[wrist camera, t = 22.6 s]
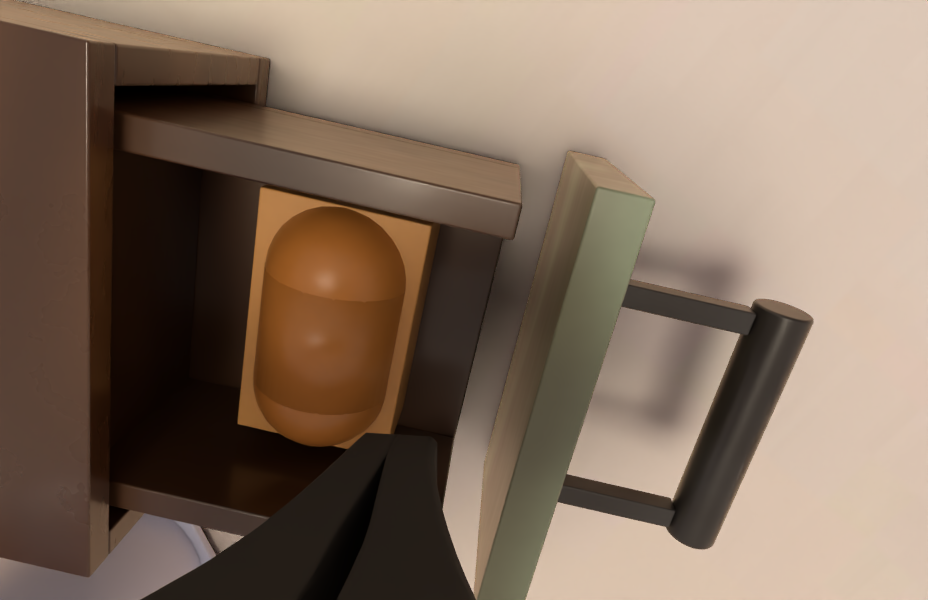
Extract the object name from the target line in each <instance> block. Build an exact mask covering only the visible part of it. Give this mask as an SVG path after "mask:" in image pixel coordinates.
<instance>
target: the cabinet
mask: <svg viewBox="0 0 928 600" xmlns="http://www.w3.org/2000/svg"><path fill="white" fill-rule="evenodd" d="M269 63H270V60H269V59H268V58H264V57H260V56H255V55H251V54H247V53H242V52H238V51H234V50H229V49H225V48H220V47H216V46H212V45H207V44H203V43H199V42H194V41H190V40H186V39H181V38H177V37H172V36H168V35H164V34H159V33H155V32H151V31H146V30H142V29H138V28H133V27H129V26H125V25H120V24H116V23H111V22H107V21H103V20H98V19H94V18H90V17H85V16H81V15H77V14H72V13H68V12H63V11H59V10H55V9H50V8H46V7H42V6H37V5H33V4H29V3H24V2H20V1H15V0H0V558H4V559H9V560H13V561H17V562H22V563H26V564H30V565H35V566H39V567H43V568H48V569H52V570H56V571H61V572H65V573H69V574H74V575H78V576H83V577H87V578H89V577H90V576H91V575H92V574H93V573H94V572H95V570H96V569H97V568H98V567H99V566H100V565H101V563H102V562H103V561H104V560H105V559H106V558H107V556H108V554H110V553H111V552H112V551H113V550H114V548H115V547H116V546H117V545H118V544H119V543H120V541H121V540H122V539H123V538H124V537H125V536H126V534H127V533H128V532H129V531H130V530H131V529H132V527H133V526H134V525H135V524H136V523H137V522H138V520H139V519H140V518H141V517H142V516H143V515H144V513H140V512H136V511H131V510H127V509H123V508H118V507H114V506H110V505H109V463H110V385H111V307H112V228H113V150H114V92H148V91H191V90H195V91H200V92H204V93H208V94H213V95H217V96H221V97H226V98H230V99H234V100H239V101H243V102H248V103H252V104H256V105H261V106H265V105H266V94H267V84H268V73H269Z"/></svg>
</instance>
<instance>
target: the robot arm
mask: <svg viewBox="0 0 928 600" xmlns="http://www.w3.org/2000/svg"><path fill="white" fill-rule="evenodd" d="M0 600H476V598H475V596H474V594H473V592H472V590H471V588H470V586H469V583H468V581H467V579H466V576H465V574H464V572H463V569H462V567H461V565H460V562H459V559H458V557H457V554H456V551H455V549H454V546H453V543H452V540H451V537H450V534H449V531H448V528H447V524H446V521H445V517H444V514H443V510H442V505H441V501H440V497H439V492H438V487H437V442H436V441H435V440H434V439H433V438H432V437H431V436H415V435H398V434H382V433H365V434H364V435H363V436H361V437H360V438H359V439H358V440H357V441H356V442H355V443H354V444H353V445H352V446H351V447H349V448H348V449H347V450H346V451H345V452H344V453H343V454H342V455H341V456H340V457H339V458H338V459H337V460H336V461H335V462H334V463H333V464H332V465H330V466H329V467H328V468H327V469H326V470H325V471H324V472H323V473H322V474H321V475H320V476H319V477H317V478H316V479H315V480H314V481H313V482H312V483H311V484H310V485H308V486H307V487H306V488H305V489H304V490H303V491H302V492H301V493H299V494H298V495H297V496H296V497H295V498H294V499H292V500H291V501H290V502H289V503H288V504H286V505H285V506H284V507H283V508H281V509H280V510H279V511H278V512H276V513H275V514H274V515H273V516H271V517H270V518H269V519H267V520H266V521H265V522H264V523H262V524H261V525H260V526H259V527H257V528H256V529H254V530H253V531H252V532H250V533H249V534H248V535H246V536H245V537H243V538H242V539H240V540H239V541H238V542H236V543H235V544H233V545H232V546H230V547H228V548H227V549H225V550H224V551H222V552H221V553H219V554H218V555H216V554H215V552H214V551H213V549H212V547H211V545H210V543H209V541H208V540H207V538H206V536H205V534H204V532H203V530H202V529H201V527H200V526H197V525H192V524H188V523H184V522H179V521H175V520H171V519H166V518H162V517H158V516H153V515H149V514H145V513H144V515H143V516H142V517H141V518H140V519H139V520H138V522H137V523H136V524H135V525H134V526H133V527H132V529H131V530H130V531H129V532H128V533H127V534H126V536H125V537H124V538H123V539H122V540H121V541H120V543H119V544H118V545H117V546H116V547H115V548H114V550H113V551H112V552H111V553H110V554H108V556H107V558H106V559H105V560H104V561H103V562H102V563H101V565H100V566H99V567H98V568H97V569H96V570H95V572H94V573H93V574H92V575H91V576H90V577H89V578H87V577H83V576H78V575H74V574H69V573H65V572H61V571H56V570H52V569H48V568H43V567H39V566H35V565H30V564H26V563H22V562H17V561H13V560H9V559H4V558H0Z"/></svg>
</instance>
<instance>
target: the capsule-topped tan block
mask: <svg viewBox="0 0 928 600" xmlns="http://www.w3.org/2000/svg"><path fill="white" fill-rule="evenodd" d="M440 225H441V224H438V223H434V222H429V221H425V220H421V219H416V218H412V217H408V216H403V215H399V214H395V213H390V212H386V211H382V210H377V209H373V208H368V207H364V206H360V205H355V204H351V203H347V202H342V201H338V200H334V199H329V198H325V197H320V196H316V195H312V194H307V193H303V192H299V191H294V190H290V189H286V188H281V187H277V186H273V185H268V184H267V185H264V186H262V187H261V188H260V196H259V206H258V217H257V227H256V237H255V247H254V258H253V268H252V278H251V288H250V299H249V309H248V319H247V330H246V340H245V350H244V360H243V371H242V381H241V391H240V401H239V412H238V422H237V423H238V424H240V425H244V426H249V427H253V428H257V429H262V430H266V431H270V432H275V433H279V434H281V435H283V436H284V437H286V438H288V439H290V440H292V441H295V442H297V443H300V444H303V445H308V446H316V447H323V446H336V447H340V448H344V449H348V448H349V447H351V446H352V445H353V444H354V443H355V442H356V441H357V440H358V439H359V438H360V437H361V436H363V435H364V434H365V433H382V434H394V432H395V429H396V426H397V423H398V420H399V417H400V414H401V411H402V408H403V405H404V400H405V395H406V390H407V386H408V381H409V376H410V371H411V366H412V361H413V356H414V352H415V347H416V342H417V337H418V332H419V327H420V322H421V317H422V313H423V308H424V303H425V298H426V293H427V288H428V283H429V278H430V274H431V269H432V264H433V259H434V254H435V249H436V244H437V239H438V235H439V230H440Z"/></svg>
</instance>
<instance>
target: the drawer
mask: <svg viewBox="0 0 928 600" xmlns="http://www.w3.org/2000/svg"><path fill="white" fill-rule="evenodd" d="M267 184H268V185H273V186H277V187H281V188H286V189H290V190H294V191H299V192H303V193H307V194H312V195H316V196H320V197H325V198H329V199H334V200H338V201H342V202H347V203H351V204H355V205H360V206H364V207H368V208H373V209H377V210H382V211H386V212H390V213H395V214H399V215H403V216H408V217H412V218H416V219H421V220H425V221H429V222H434V223H438V224H441V225H440V230H439V235H438V239H437V244H436V249H435V254H434V259H433V264H432V269H431V274H430V278H429V283H428V288H427V293H426V298H425V303H424V308H423V313H422V317H421V322H420V327H419V332H418V337H417V342H416V347H415V352H414V356H413V361H412V366H411V371H410V376H409V381H408V386H407V390H406V395H405V400H404V405H403V408H402V411H401V414H400V417H399V420H398V423H397V426H396V429H395V432H394V434H398V435H415V436H431V437H432V438H433V439H434V440H435V441H436V442H437V487H438V492H439V497H440V501H441V505H442V509H443V503H444V497H445V491H446V485H447V479H448V473H449V467H450V461H451V455H452V449H453V443H454V438H455V434H456V429H457V425H458V421H459V417H460V413H461V409H462V405H463V401H464V397H465V393H466V388H467V384H468V380H469V376H470V372H471V368H472V364H473V360H474V356H475V352H476V348H477V343H478V339H479V335H480V331H481V327H482V323H483V319H484V315H485V311H486V307H487V302H488V298H489V294H490V290H491V286H492V282H493V278H494V274H495V270H496V266H497V261H498V257H499V253H500V249H501V245H502V241H503V238H504V239H508V240H513V239H514V237H515V233H516V229H517V225H518V221H519V217H520V213H521V209H522V196H521V181H520V166H519V165H518V164H514V163H509V162H505V161H500V160H496V159H492V158H487V157H483V156H479V155H474V154H470V153H466V152H461V151H457V150H452V149H448V148H444V147H439V146H435V145H431V144H426V143H422V142H418V141H413V140H409V139H405V138H400V137H396V136H391V135H387V134H383V133H378V132H374V131H370V130H365V129H361V128H357V127H352V126H348V125H343V124H339V123H335V122H330V121H326V120H322V119H317V118H313V117H309V116H304V115H300V114H295V113H291V112H287V111H282V110H278V109H274V108H269V107H265V106H261V105H256V104H252V103H248V102H243V101H239V100H234V99H230V98H226V97H221V96H217V95H213V94H208V93H204V92H200V91H195V90H191V91H148V92H114V150H113V228H112V307H111V385H110V463H109V505H110V506H114V507H118V508H123V509H127V510H131V511H136V512H140V513H145V514H149V515H153V516H158V517H162V518H166V519H171V520H175V521H179V522H184V523H188V524H192V525H197V526H201V527H205V528H210V529H214V530H219V531H223V532H227V533H232V534H236V535H240V536H246V535H248V534H249V533H250V532H252V531H253V530H254V529H256V528H257V527H259V526H260V525H261V524H262V523H264V522H265V521H266V520H267V519H269V518H270V517H271V516H273V515H274V514H275V513H276V512H278V511H279V510H280V509H281V508H283V507H284V506H285V505H286V504H288V503H289V502H290V501H291V500H292V499H294V498H295V497H296V496H297V495H298V494H299V493H301V492H302V491H303V490H304V489H305V488H306V487H307V486H308V485H310V484H311V483H312V482H313V481H314V480H315V479H316V478H317V477H319V476H320V475H321V474H322V473H323V472H324V471H325V470H326V469H327V468H328V467H329V466H330V465H332V464H333V463H334V462H335V461H336V460H337V459H338V458H339V457H340V456H341V455H342V454H343V453H344V452H345V451H346V450H347V449H344V448H340V447H336V446H323V447H316V446H308V445H303V444H300V443H297V442H295V441H292V440H290V439H288V438H286V437H284V436H283V435H281V434H279V433H275V432H270V431H266V430H262V429H257V428H253V427H249V426H244V425H240V424H238V423H237V422H238V412H239V401H240V391H241V381H242V371H243V360H244V350H245V340H246V330H247V319H248V309H249V299H250V288H251V278H252V268H253V258H254V247H255V237H256V227H257V217H258V206H259V196H260V188H261V187H262V186H264V185H267ZM654 205H655V199H654V198H652V197H651V196H650V195H649V194H648V193H646V192H645V191H644V190H643V189H641V188H640V187H639V186H638V185H637V184H635V183H634V182H633V181H632V180H631V179H629V178H628V177H627V176H626V175H624V174H623V173H622V172H621V171H620V170H618V169H617V168H616V167H615V166H614V165H612V164H611V163H610V162H609V161H607V160H606V159H604V158H600V157H595V156H591V155H587V154H582V153H578V152H574V151H568V152H567V156H566V160H565V164H564V167H563V171H562V175H561V179H560V182H559V186H558V190H557V193H556V197H555V201H554V205H553V208H552V212H551V216H550V219H549V223H548V227H547V231H546V234H545V238H544V242H543V246H542V249H541V253H540V257H539V260H538V264H537V268H536V272H535V275H534V279H533V283H532V287H531V290H530V294H529V298H528V301H527V305H526V309H525V313H524V316H523V320H522V324H521V328H520V331H519V335H518V339H517V342H516V346H515V350H514V354H513V357H512V361H511V365H510V368H509V372H508V376H507V380H506V383H505V387H504V391H503V395H502V398H501V402H500V406H499V409H498V413H497V417H496V421H495V424H494V428H493V432H492V436H491V439H490V443H489V447H488V450H487V454H486V458H485V462H484V471H483V483H482V496H481V509H480V521H479V534H478V547H477V559H476V572H475V585H474V596H475V598H476V600H525V599H526V596H527V593H528V590H529V587H530V584H531V581H532V578H533V575H534V572H535V569H536V566H537V562H538V559H539V556H540V553H541V550H542V547H543V544H544V541H545V538H546V535H547V532H548V529H549V526H550V523H551V520H552V517H553V514H554V511H555V507H556V504H557V502H560V503H564V504H568V505H573V506H577V507H582V508H586V509H590V510H595V511H599V512H603V513H608V514H612V515H616V516H621V517H625V518H629V519H634V520H638V521H643V522H647V523H651V524H656V525H660V526H664V527H666V528H667V530H668V532H669V533H670V534H671V535H672V536H673V537H674V538H675V539H676V540H678V541H679V542H681V543H682V544H684V545H686V546H689V547H692V548H695V549H708V548H710V547H711V546H713V544H714V542H715V540H716V538H717V536H718V533H719V531H720V529H721V527H722V524H723V522H724V520H725V518H726V516H727V513H728V511H729V509H730V507H731V504H732V502H733V500H734V498H735V496H736V493H737V491H738V489H739V487H740V484H741V482H742V480H743V478H744V476H745V473H746V471H747V469H748V467H749V464H750V462H751V460H752V458H753V456H754V453H755V451H756V449H757V447H758V444H759V442H760V440H761V438H762V436H763V433H764V431H765V429H766V427H767V424H768V422H769V420H770V418H771V416H772V413H773V411H774V409H775V407H776V404H777V402H778V400H779V398H780V396H781V393H782V391H783V389H784V387H785V384H786V382H787V380H788V378H789V376H790V373H791V371H792V369H793V367H794V364H795V362H796V360H797V358H798V356H799V353H800V351H801V349H802V347H803V344H804V342H805V340H806V338H807V336H808V333H809V331H810V329H811V327H812V324H813V318H812V317H811V316H810V315H809V314H807V313H806V312H804V311H802V310H800V309H798V308H795V307H793V306H790V305H788V304H785V303H781V302H778V301H774V300H769V299H756V300H755V301H754V302H753V304H752V307H751V309H750V308H749V307H748V306H745V305H741V304H736V303H732V302H728V301H723V300H719V299H715V298H710V297H706V296H702V295H697V294H693V293H688V292H684V291H680V290H675V289H671V288H667V287H662V286H658V285H654V284H649V283H645V282H640V281H636V280H632V279H630V278H631V275H632V272H633V269H634V266H635V263H636V260H637V257H638V254H639V251H640V248H641V245H642V241H643V238H644V235H645V232H646V229H647V226H648V223H649V220H650V217H651V214H652V211H653V208H654ZM621 307H626V308H630V309H634V310H639V311H643V312H647V313H652V314H656V315H660V316H665V317H669V318H674V319H678V320H682V321H687V322H691V323H695V324H700V325H704V326H708V327H713V328H717V329H721V330H726V331H730V332H735V333H739V334H740V336H739V339H738V341H737V343H736V346H735V348H734V351H733V353H732V356H731V358H730V361H729V363H728V365H727V368H726V370H725V373H724V375H723V378H722V380H721V383H720V385H719V388H718V390H717V392H716V395H715V397H714V400H713V402H712V405H711V407H710V410H709V412H708V415H707V417H706V419H705V422H704V424H703V427H702V429H701V432H700V434H699V437H698V439H697V442H696V444H695V446H694V449H693V451H692V454H691V456H690V459H689V461H688V464H687V466H686V469H685V471H684V473H683V476H682V478H681V481H680V483H679V486H678V488H677V491H676V493H675V496H674V498H673V500H671V499H670V498H668V497H664V496H659V495H655V494H650V493H646V492H642V491H637V490H633V489H629V488H624V487H620V486H616V485H611V484H607V483H603V482H598V481H594V480H590V479H585V478H581V477H576V476H572V475H568V474H567V471H568V468H569V465H570V462H571V459H572V455H573V452H574V449H575V446H576V443H577V440H578V437H579V434H580V431H581V428H582V425H583V422H584V419H585V416H586V413H587V410H588V407H589V403H590V400H591V397H592V394H593V391H594V388H595V385H596V382H597V379H598V376H599V373H600V370H601V367H602V364H603V361H604V358H605V355H606V352H607V348H608V345H609V342H610V339H611V336H612V333H613V330H614V327H615V324H616V321H617V318H618V315H619V312H620V309H621Z"/></svg>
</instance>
